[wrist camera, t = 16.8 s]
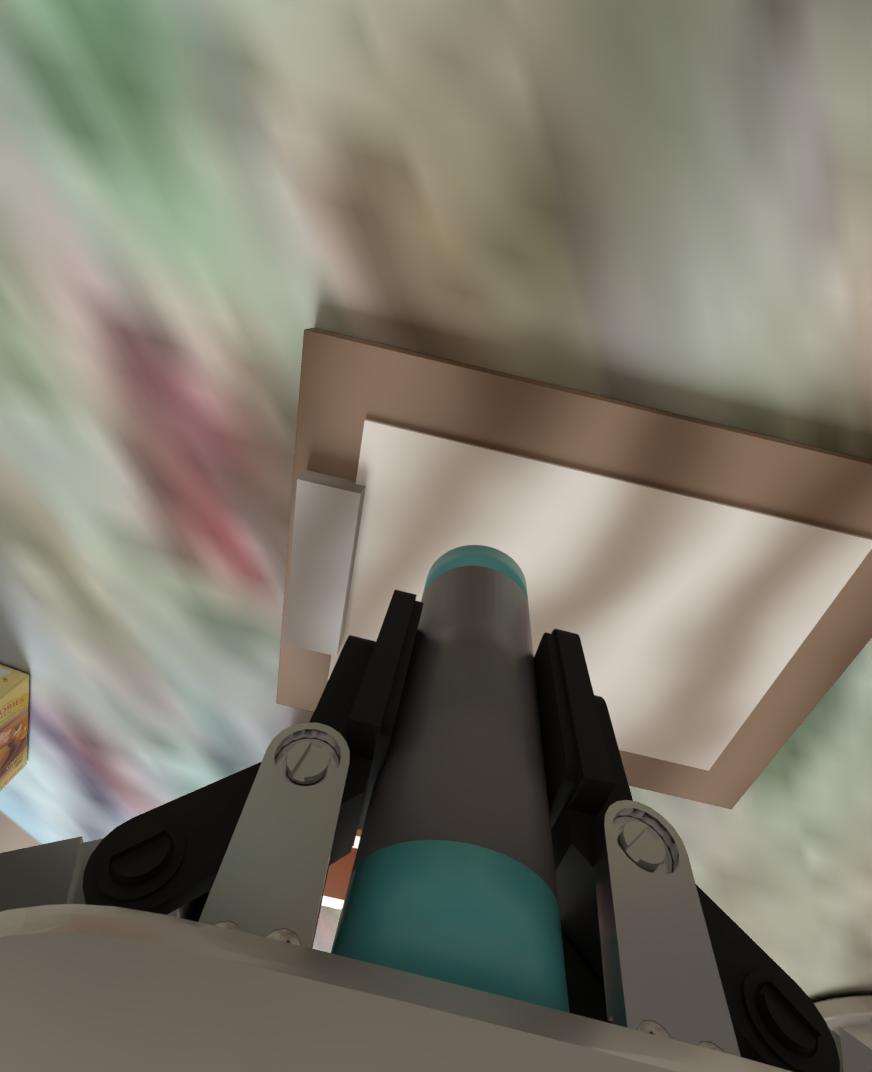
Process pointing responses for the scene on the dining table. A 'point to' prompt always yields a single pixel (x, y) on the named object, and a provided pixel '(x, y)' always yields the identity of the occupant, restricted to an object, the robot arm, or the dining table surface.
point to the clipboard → (584, 547)
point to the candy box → (13, 722)
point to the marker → (463, 801)
